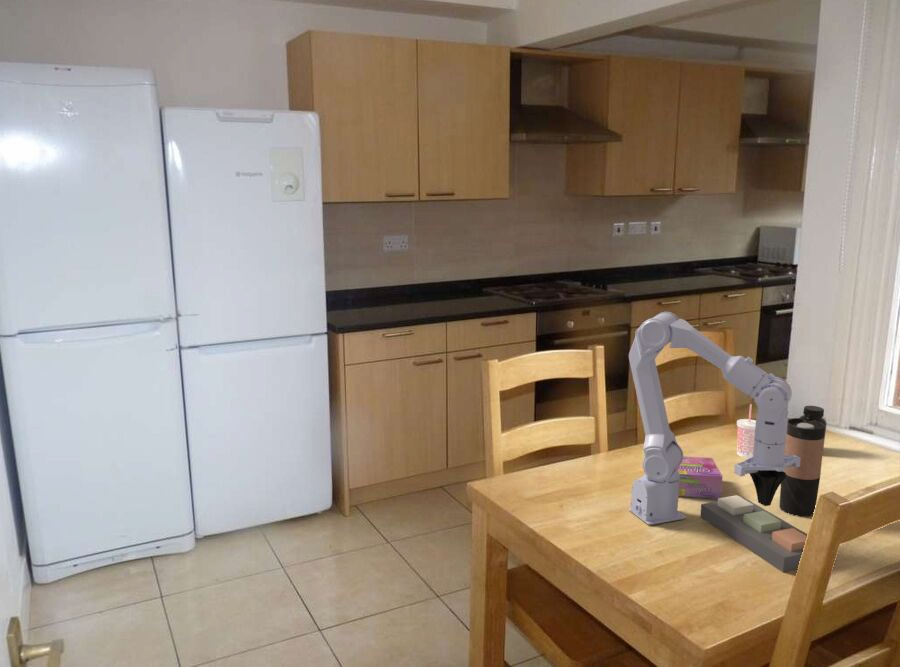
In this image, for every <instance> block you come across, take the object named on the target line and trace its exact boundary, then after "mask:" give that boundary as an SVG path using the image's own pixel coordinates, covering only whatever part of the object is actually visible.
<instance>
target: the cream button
mask: <svg viewBox="0 0 900 667" xmlns="http://www.w3.org/2000/svg"><path fill="white" fill-rule="evenodd" d="M741 497H742V496H739V495H737V494H735V495H732V496H725V497H721V498H718V499H717V501H718V504H717V506H718V507H720V508H722V509H723V510H725V511H726V512H728V513H730V514H731V515H733V516H734V515H740V514H745V513H751V512H753V504H751V503H750V502H748V501H746V500H744V499H743V498H741Z"/></svg>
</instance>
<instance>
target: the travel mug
mask: <svg viewBox="0 0 900 667" xmlns="http://www.w3.org/2000/svg"><path fill="white" fill-rule="evenodd" d="M824 434H825V435H826V433H825V425H824V424H823V423H821V422H819V421H815V420H813V421H811V422H808V421H803V420H802V419H801V418H800V417H795V418H790V419H788V424H787V435H786V444H785V455H795V456H797V457H800V458H801V459H800V467H794V466H792V467H786V471H783V472H785V473H786V478H785V479H784V480H783V481H782V483H781V484H780V491H779V508H780V510H781V511H783V512H784V513H786V514H788V513H789V515H791V514H793V515H792V516H795V515H798V516H797V517H802V516H806V517H812V516H813V515H814V514H813V512H814V509H815V510H816V508H815V505H816V506H817V501H818V493H819V487H820V482H821V481H820V480H821V474H822V473H821V472H822V471H821V470H822V462H823V453H824V448H823V444H824V445H825V440H824Z"/></svg>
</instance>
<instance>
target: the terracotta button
mask: <svg viewBox="0 0 900 667" xmlns="http://www.w3.org/2000/svg"><path fill="white" fill-rule="evenodd" d="M806 538H807V536H806V535H804V534H802V533H801V532H799V531H797V530H796V529H794V528H790V529H785V530H780V531H775V532H772V540H773V541H774V542H776V543H777V544H779V545H781V546H782V547H784V548H785V549H787V550H788V551H790V552H794V551H799V550H803V548H804V545H805V541H806Z"/></svg>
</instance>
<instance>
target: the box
mask: <svg viewBox="0 0 900 667" xmlns="http://www.w3.org/2000/svg"><path fill="white" fill-rule="evenodd" d="M677 469H678V472H679V474H680V480H679V495H678V498H679V497H680V498H695V499H696V498H697V499H698V498H699V499H715V500H716V499H717V500H718V498H722V487H723V474H722V473H721V471H720V469H719V468H718V466H717V464H716V462H715V460H714V458H713V457H707V456H706V457H705V456H686V455H685V456H684V455H683V461H682V463H681V464H680V465H679V466H678V467H677Z"/></svg>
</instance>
